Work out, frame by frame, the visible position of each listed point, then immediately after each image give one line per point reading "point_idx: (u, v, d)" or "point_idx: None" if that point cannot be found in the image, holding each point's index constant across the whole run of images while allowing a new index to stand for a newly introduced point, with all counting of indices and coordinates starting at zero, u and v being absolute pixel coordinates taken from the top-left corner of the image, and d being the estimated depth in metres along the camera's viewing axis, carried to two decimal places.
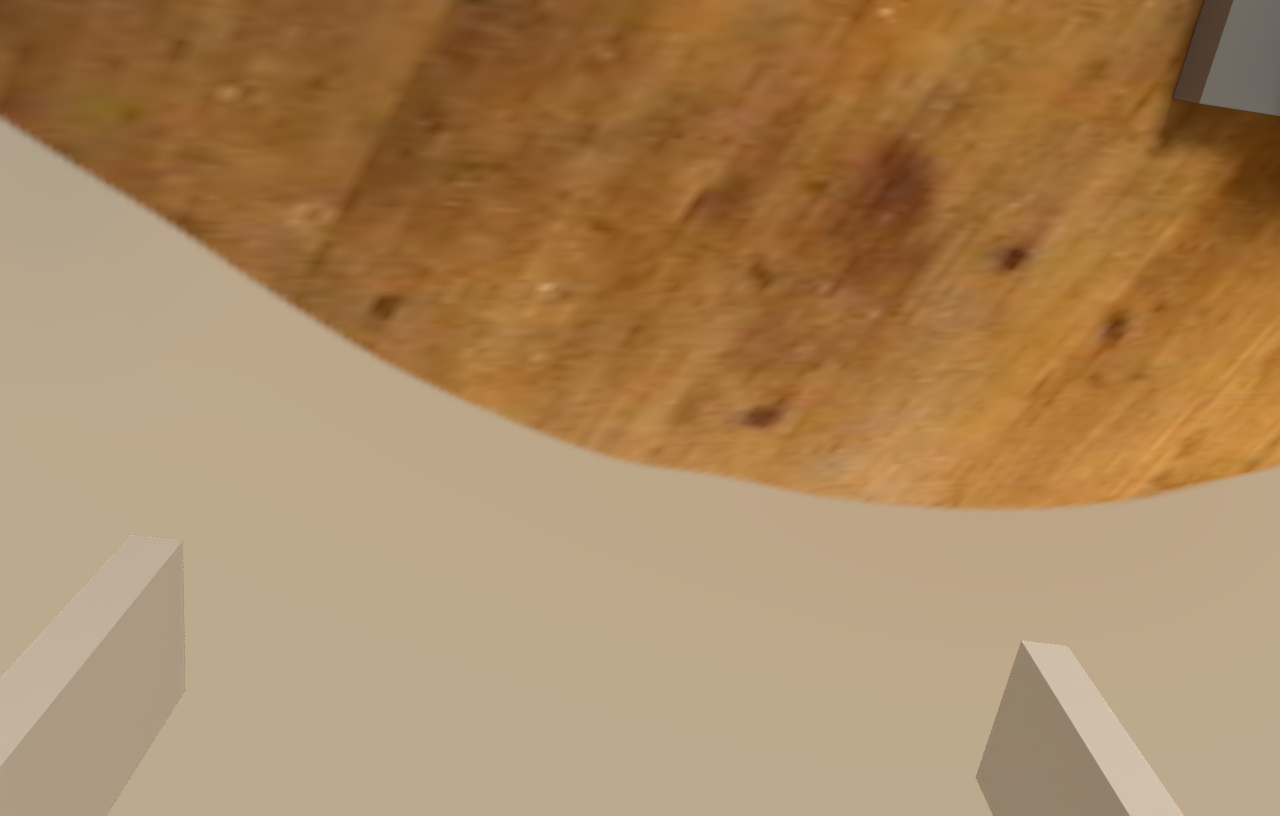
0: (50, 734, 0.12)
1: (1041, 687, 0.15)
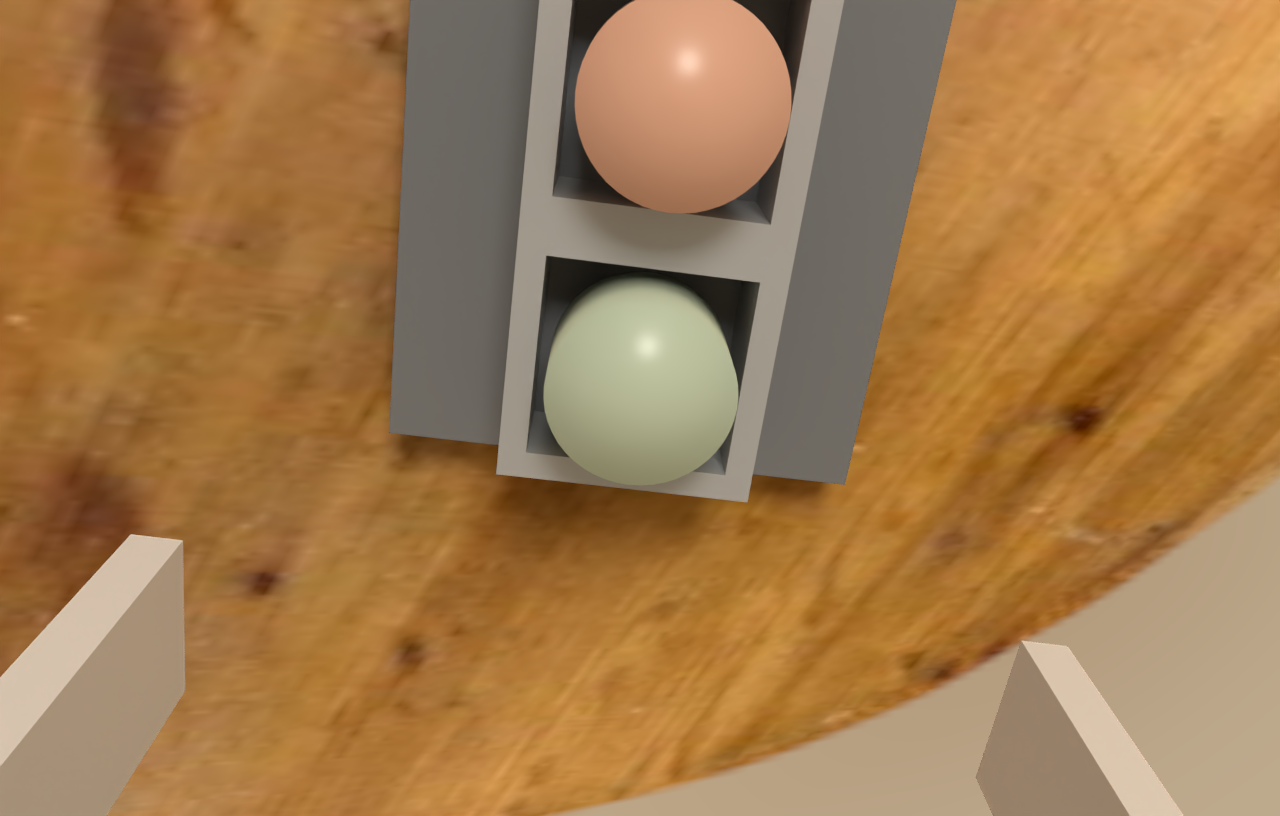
0: (50, 734, 0.12)
1: (1041, 687, 0.15)
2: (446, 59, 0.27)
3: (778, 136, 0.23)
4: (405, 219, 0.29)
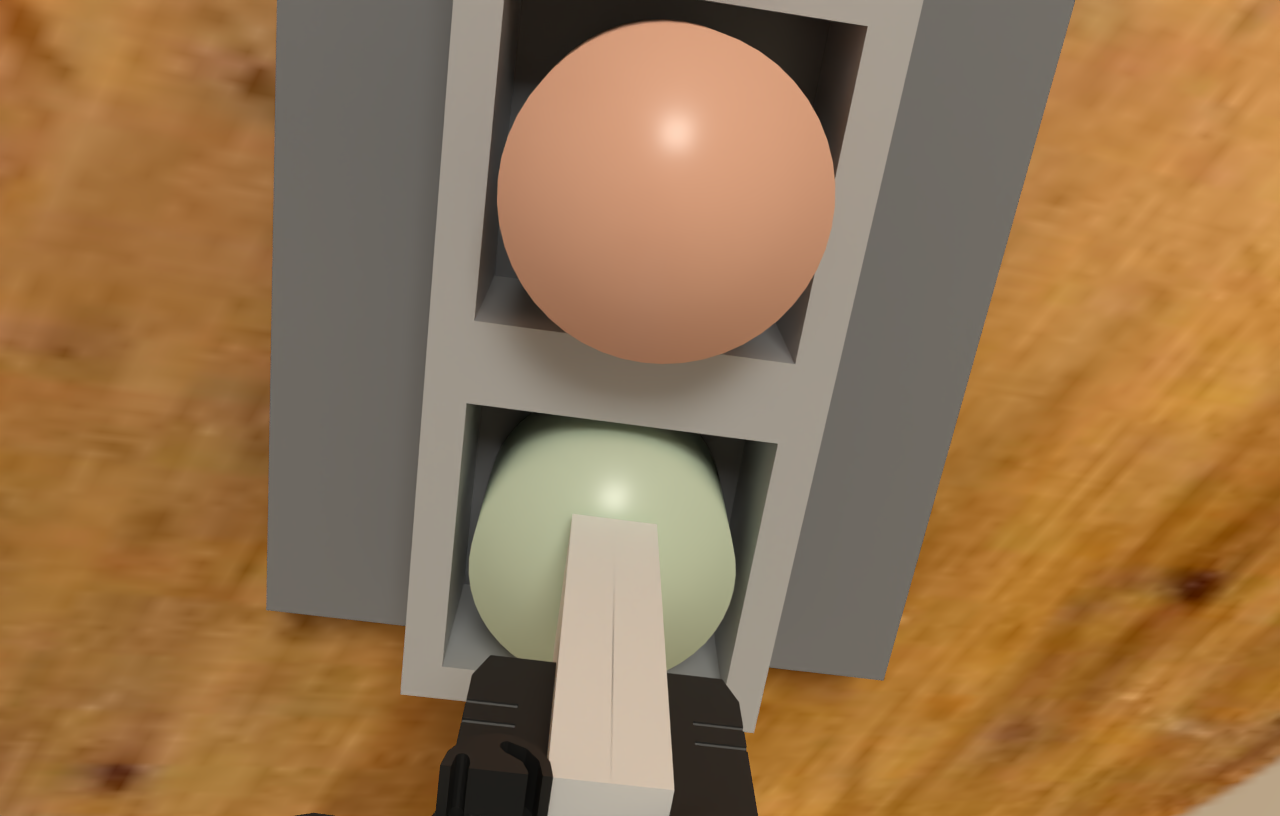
0: None
1: (612, 555, 0.17)
2: (331, 112, 0.19)
3: (813, 252, 0.15)
4: (279, 331, 0.21)
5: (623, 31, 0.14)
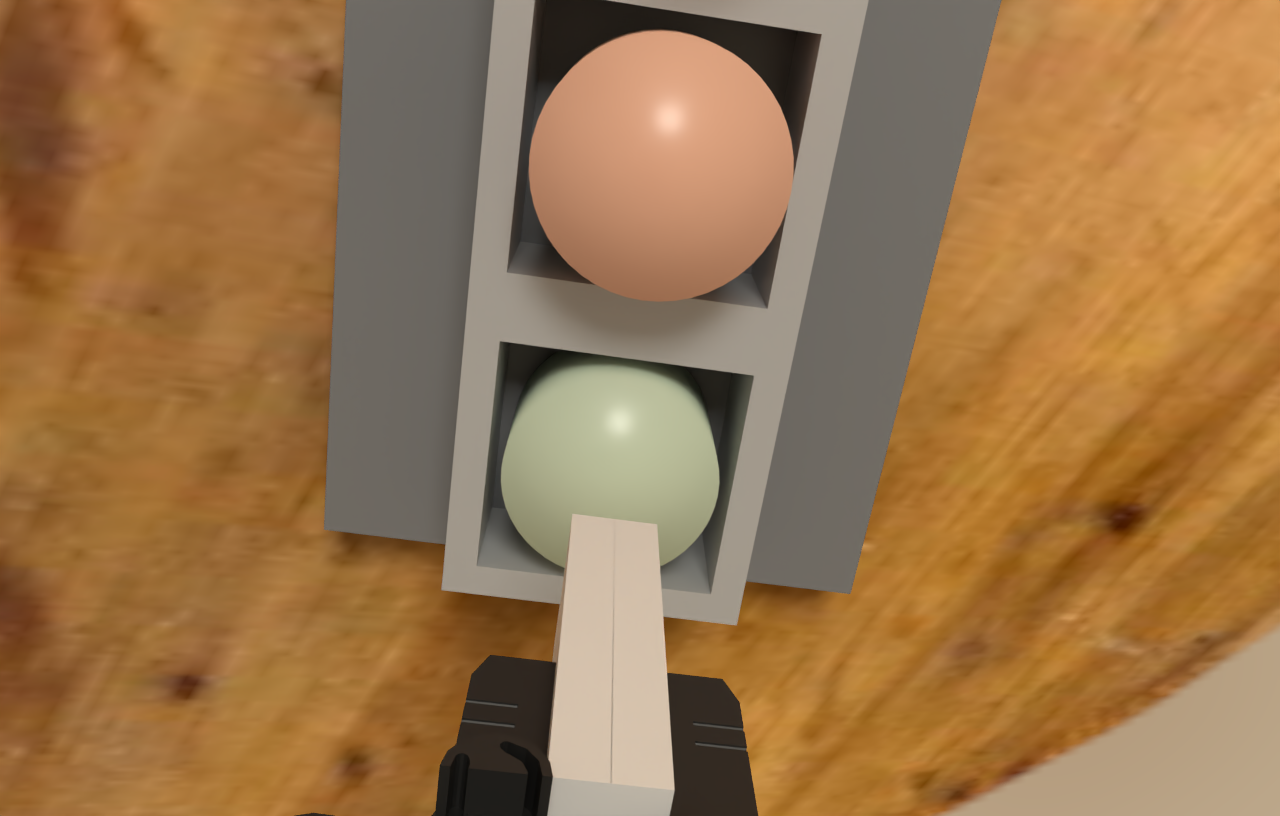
0: None
1: (612, 555, 0.17)
2: (387, 105, 0.23)
3: (777, 211, 0.19)
4: (341, 288, 0.25)
5: (627, 38, 0.18)
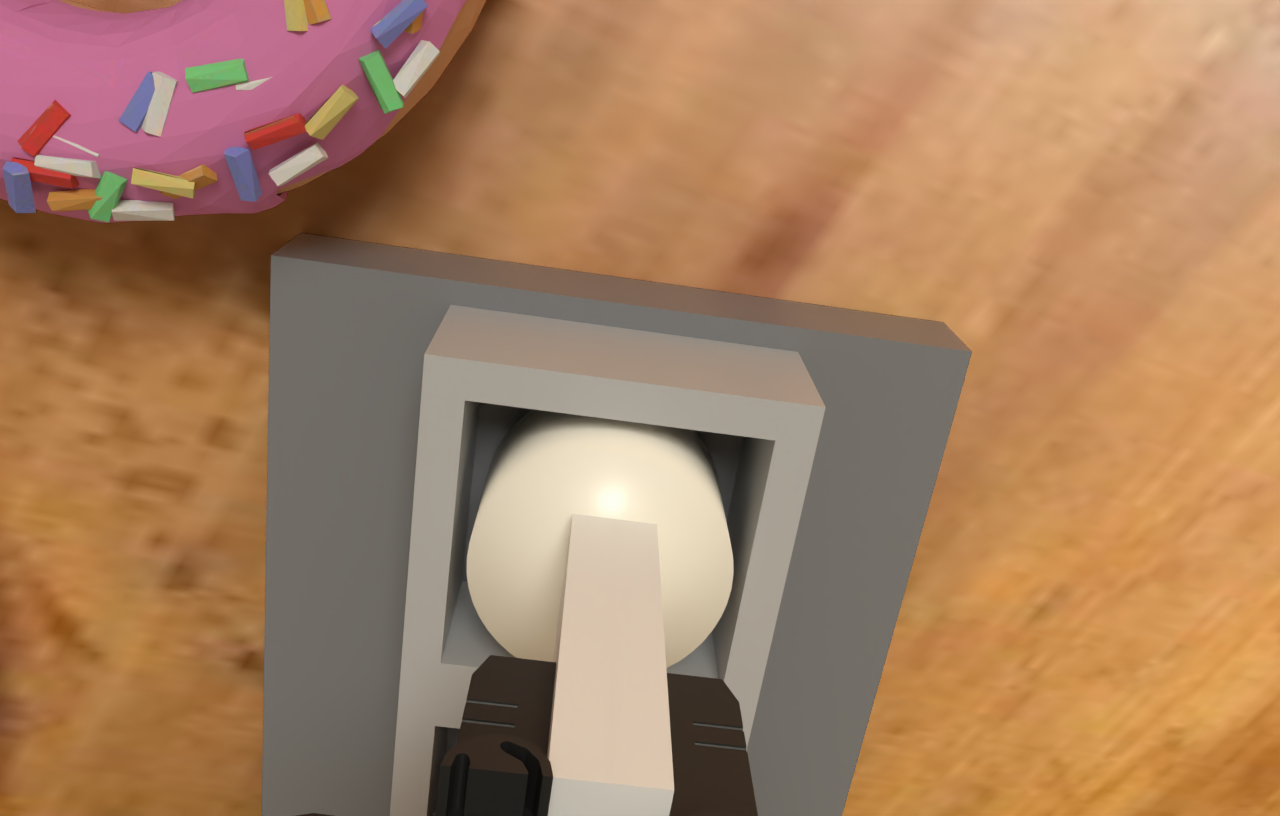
0: None
1: (612, 555, 0.17)
2: (307, 725, 0.24)
3: None
4: None
5: None
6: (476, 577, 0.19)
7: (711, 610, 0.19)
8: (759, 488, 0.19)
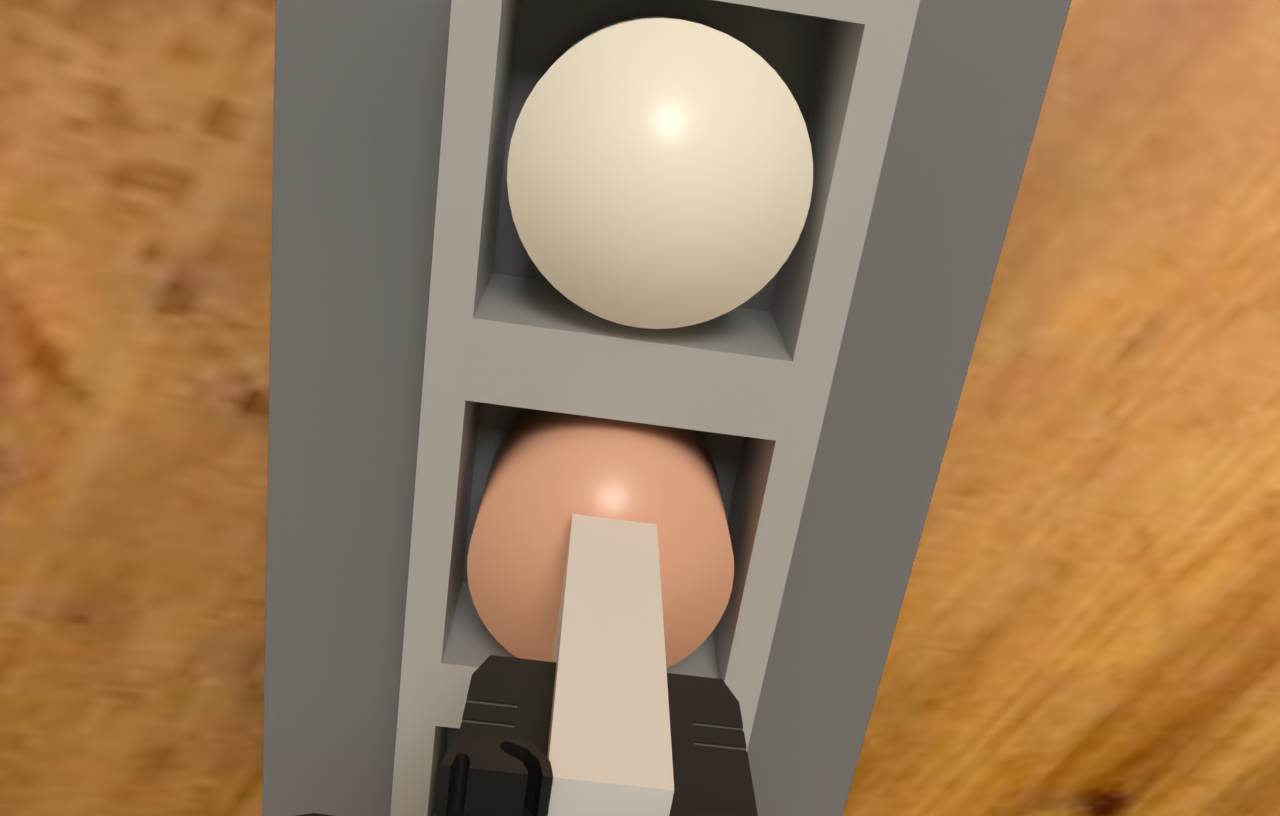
0: None
1: (612, 555, 0.17)
2: (317, 454, 0.22)
3: (718, 605, 0.19)
4: (272, 626, 0.23)
5: (564, 455, 0.18)
6: (518, 187, 0.16)
7: (786, 233, 0.17)
8: (841, 102, 0.17)
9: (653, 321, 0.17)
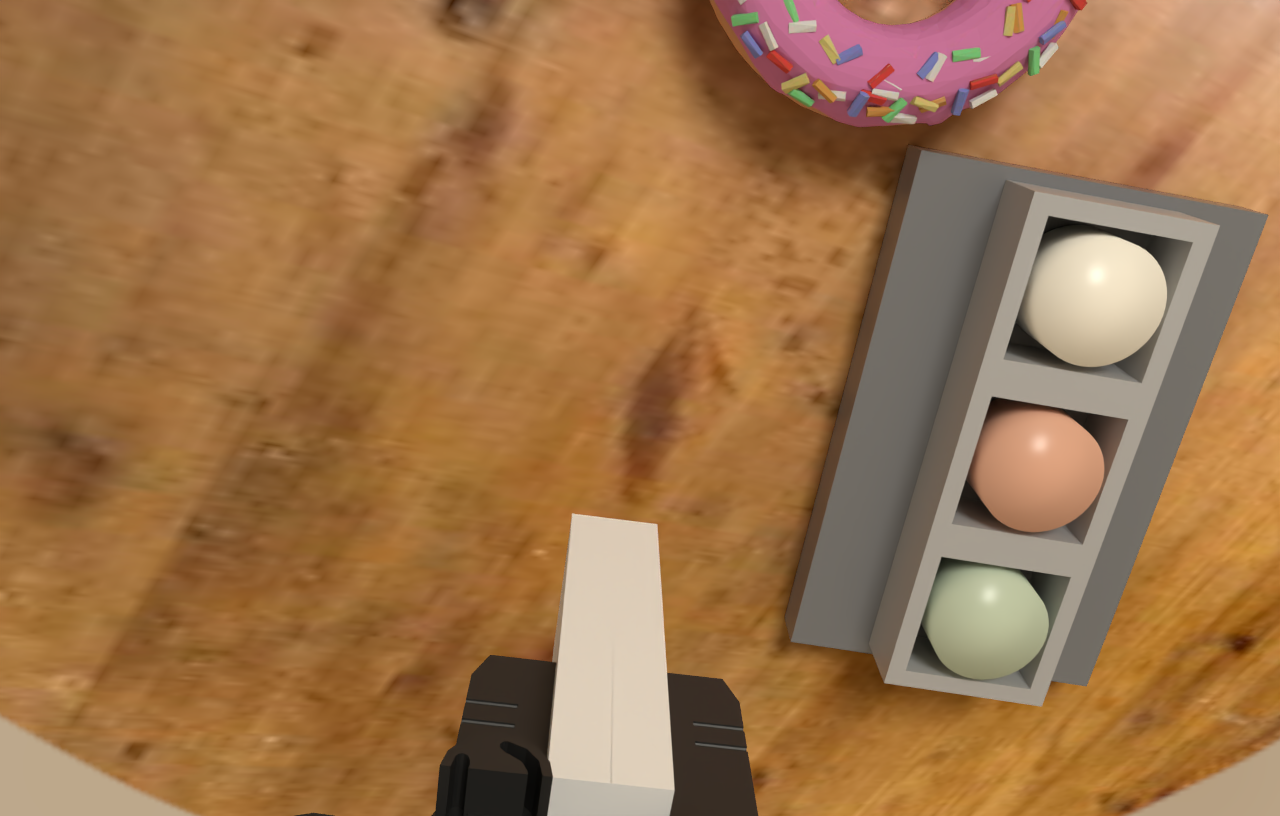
0: None
1: (612, 555, 0.17)
2: (873, 423, 0.43)
3: (1093, 494, 0.41)
4: (828, 513, 0.45)
5: (1036, 420, 0.40)
6: (1040, 304, 0.38)
7: (1151, 327, 0.38)
8: (1174, 271, 0.39)
9: (1087, 363, 0.39)
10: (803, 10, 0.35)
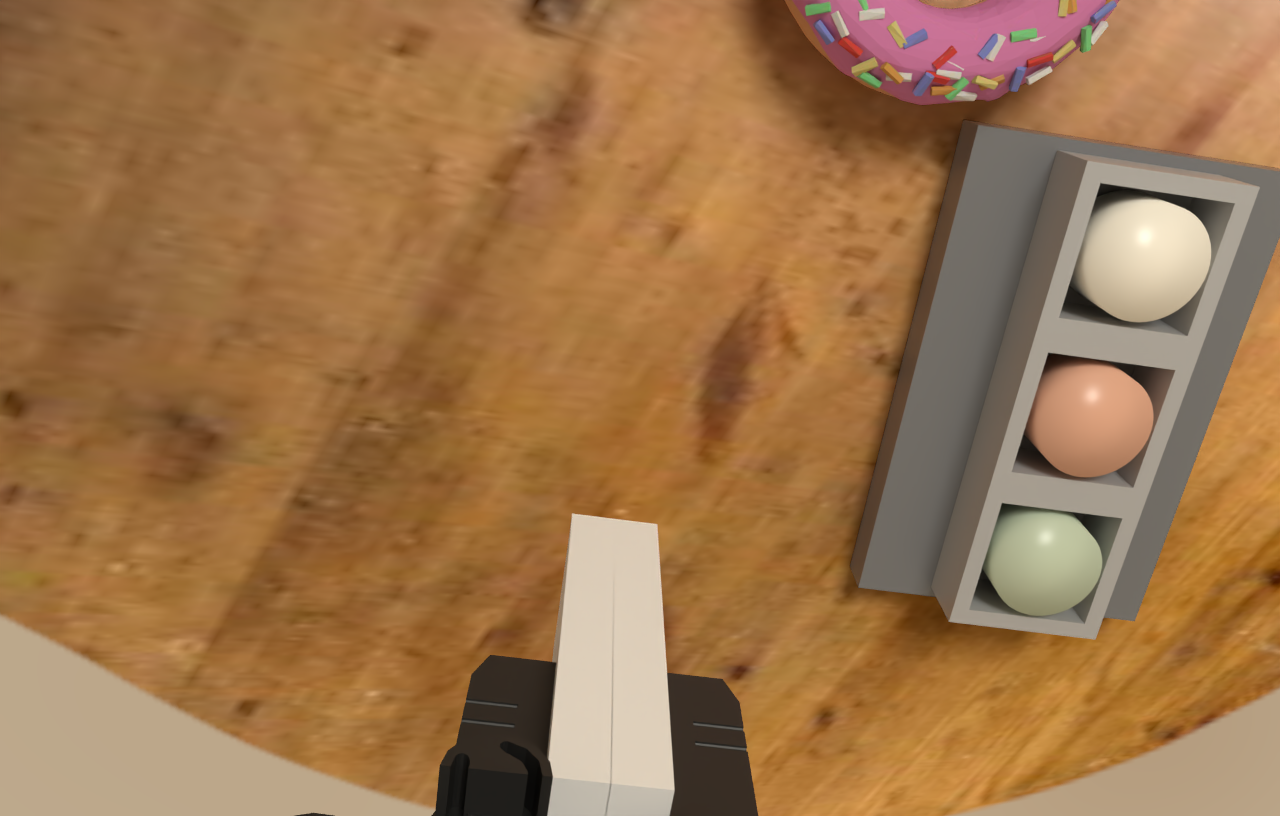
0: None
1: (612, 555, 0.17)
2: (934, 381, 0.46)
3: (1143, 440, 0.44)
4: (893, 466, 0.48)
5: (1090, 373, 0.43)
6: (1094, 265, 0.41)
7: (1196, 283, 0.41)
8: (1217, 230, 0.42)
9: (1137, 319, 0.42)
10: None
